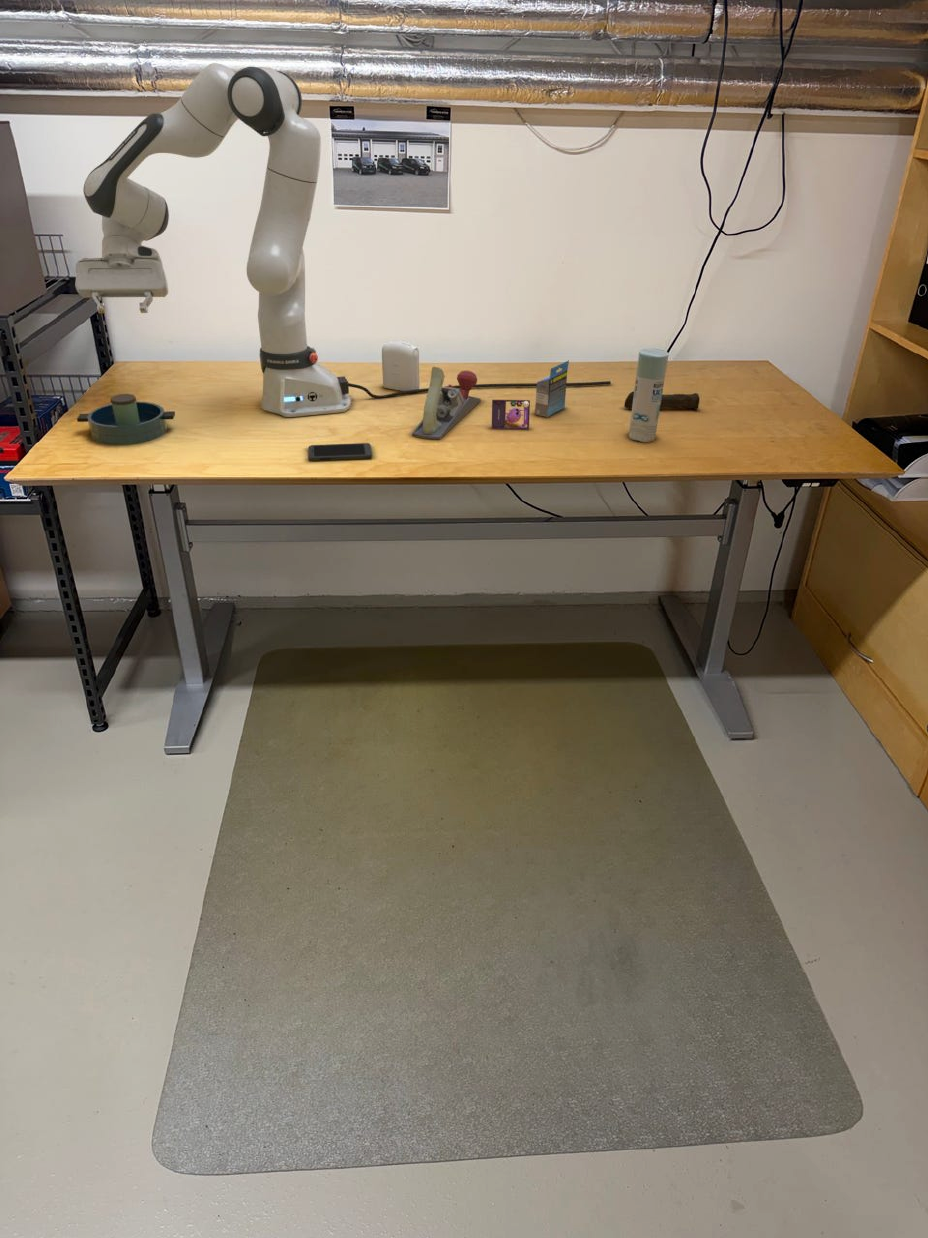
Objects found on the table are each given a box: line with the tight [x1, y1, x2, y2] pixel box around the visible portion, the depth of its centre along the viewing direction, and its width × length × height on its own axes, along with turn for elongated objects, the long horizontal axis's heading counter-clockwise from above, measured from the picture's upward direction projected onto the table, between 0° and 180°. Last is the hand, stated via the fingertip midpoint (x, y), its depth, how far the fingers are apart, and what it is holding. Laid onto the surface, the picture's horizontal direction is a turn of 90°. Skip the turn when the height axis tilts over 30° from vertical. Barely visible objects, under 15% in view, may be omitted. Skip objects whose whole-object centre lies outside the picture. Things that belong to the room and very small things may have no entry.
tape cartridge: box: [534, 360, 570, 419], centre depth 214 cm, size 9×4×12 cm, turn 145°
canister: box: [109, 393, 140, 426], centre depth 197 cm, size 5×5×8 cm
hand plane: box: [412, 366, 482, 441], centre depth 208 cm, size 7×31×15 cm, turn 160°
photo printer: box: [381, 340, 421, 392], centre depth 226 cm, size 10×4×12 cm, turn 63°
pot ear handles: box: [76, 410, 176, 423], centre depth 197 cm, size 21×3×1 cm, turn 98°
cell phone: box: [307, 442, 373, 462], centre depth 191 cm, size 7×14×1 cm, turn 99°
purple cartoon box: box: [491, 399, 531, 430], centre depth 207 cm, size 7×5×9 cm
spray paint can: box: [628, 348, 669, 443], centre depth 198 cm, size 6×6×20 cm
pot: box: [87, 400, 168, 446], centre depth 198 cm, size 17×17×4 cm
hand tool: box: [623, 390, 700, 411], centre depth 220 cm, size 19×4×5 cm, turn 92°
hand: (122, 311), depth 199 cm, fingers open, 8 cm apart
